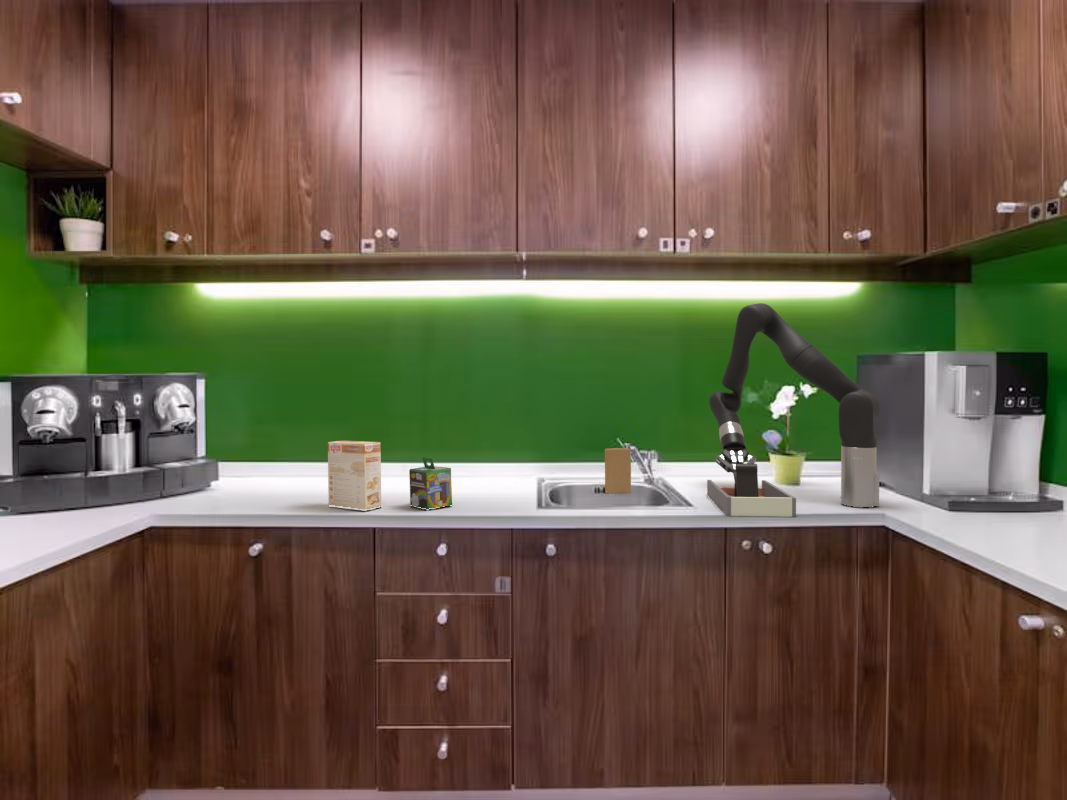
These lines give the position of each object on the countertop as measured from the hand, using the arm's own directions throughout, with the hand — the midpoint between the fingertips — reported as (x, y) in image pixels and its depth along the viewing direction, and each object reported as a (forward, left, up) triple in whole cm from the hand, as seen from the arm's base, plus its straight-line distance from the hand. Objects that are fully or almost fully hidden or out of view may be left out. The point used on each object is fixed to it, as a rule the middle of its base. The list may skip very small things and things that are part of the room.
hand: (740, 481), depth 200 cm
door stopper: (0, +8, -6) cm, 10 cm away
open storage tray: (0, +10, -5) cm, 12 cm away
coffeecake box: (+115, +22, -6) cm, 117 cm away
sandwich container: (+37, -15, -6) cm, 41 cm away
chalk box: (+93, +19, -6) cm, 95 cm away
